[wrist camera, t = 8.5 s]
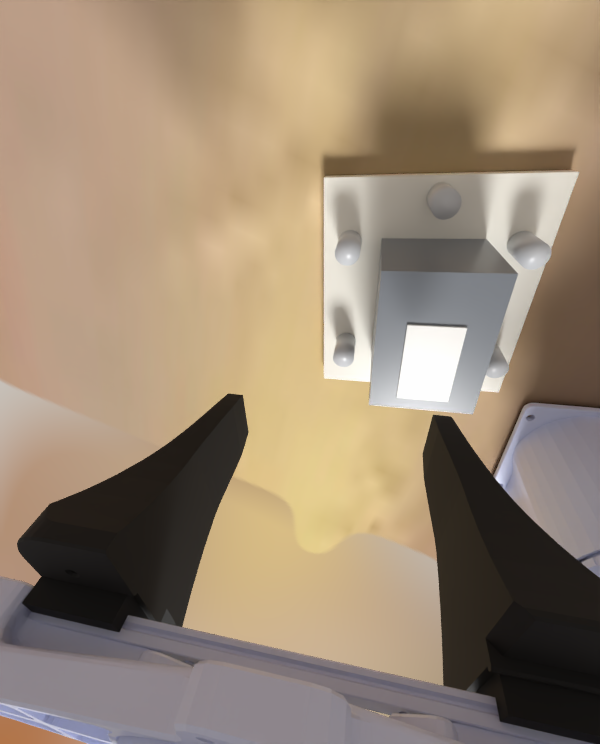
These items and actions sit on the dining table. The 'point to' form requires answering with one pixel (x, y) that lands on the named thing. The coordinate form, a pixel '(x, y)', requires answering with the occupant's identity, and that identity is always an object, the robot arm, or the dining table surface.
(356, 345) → the white peg board
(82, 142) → the dining table surface
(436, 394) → the block
